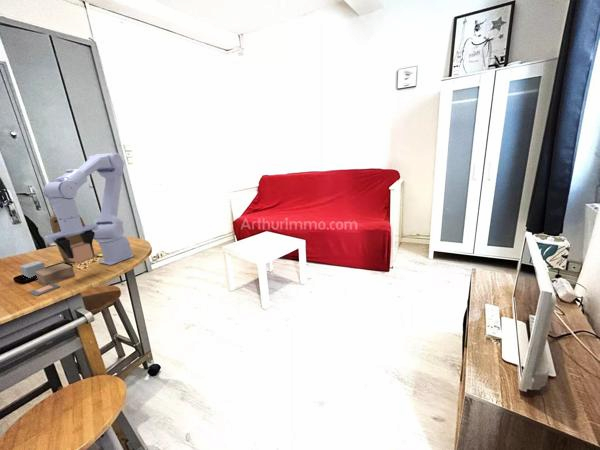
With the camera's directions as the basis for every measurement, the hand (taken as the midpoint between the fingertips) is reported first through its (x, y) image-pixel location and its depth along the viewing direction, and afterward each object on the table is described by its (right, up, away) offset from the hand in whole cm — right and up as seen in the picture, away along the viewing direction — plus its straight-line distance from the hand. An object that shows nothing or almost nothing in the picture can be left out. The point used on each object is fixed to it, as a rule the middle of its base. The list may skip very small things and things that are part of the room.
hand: (80, 254), depth 92 cm
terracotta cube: (0, -1, 0) cm, 1 cm away
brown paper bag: (-18, -4, +21) cm, 28 cm away
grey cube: (-21, -9, +6) cm, 24 cm away
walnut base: (-11, -9, +3) cm, 14 cm away
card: (-7, -11, -6) cm, 14 cm away
